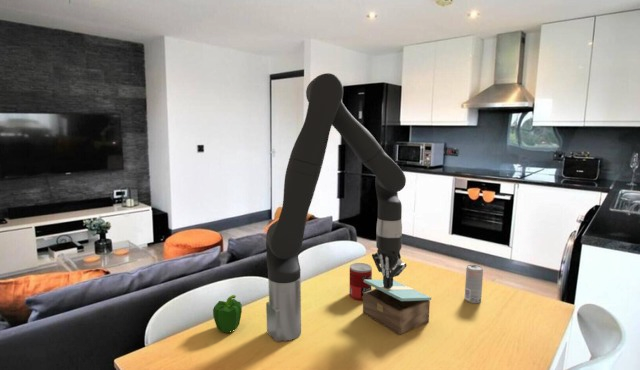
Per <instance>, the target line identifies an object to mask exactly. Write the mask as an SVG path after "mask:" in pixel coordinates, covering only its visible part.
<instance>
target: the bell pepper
mask: <svg viewBox="0 0 640 370" xmlns="http://www.w3.org/2000/svg"><path fill="white" fill-rule="evenodd" d="M236 297H237V295H236V294H232V295H230V296H228V297H227V299H226V301H224V300H223V301H222V300H218V302H217V303H216V304H215V305H214V307H213V309H212V315H213V319H214V322H215V326H216V328H217V329H218V331H219V330H221V331H220V332H222V331H223V333H224V332H230V331H233V330H235V329H236V330H237V329H238V327H239V325H240V321H241V318H242V311H243V310H242V308H243V306H242V303H241V301H237V300H236ZM236 330H235V331H236ZM233 332H234V331H233Z"/></svg>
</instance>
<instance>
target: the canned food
mask: <svg viewBox="0 0 640 370" xmlns="http://www.w3.org/2000/svg"><path fill="white" fill-rule="evenodd" d="M364 279H368V280H373V268H372V266H371V265H370V264H368V263H364V262H355V263H354V262H353V263H352V264H350V265H349V296H350V297H351V298H352V299H353V298H354V299H353V300H356V301H363V293H364V292H367V291H370V290H372V286H371V285H369V284H367V283H365V282H364Z"/></svg>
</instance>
